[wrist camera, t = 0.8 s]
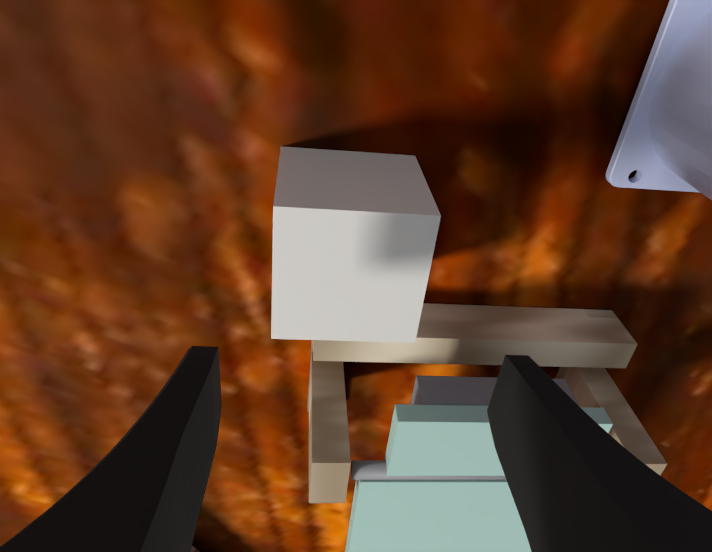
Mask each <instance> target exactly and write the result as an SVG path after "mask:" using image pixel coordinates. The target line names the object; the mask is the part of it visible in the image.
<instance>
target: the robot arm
mask: <svg viewBox="0 0 712 552" xmlns="http://www.w3.org/2000/svg"><path fill="white" fill-rule="evenodd" d="M634 170H637V173H636V174H635V176H634V177H632V178H629V179H628V176H629V175H630V173H631V172H633V171H634ZM606 179H607V181H608V182H609V183H610V184H612V185H613V186H615V187H622V188H638V189H654V190H670V191H685V192H701V193H702V194H704V195H705V196H706V197H708V198H709V199H711V200H712V0H670V1H669V4H668V6H667V9H666V12H665V15H664V17H663V20H662V23H661V25H660V28H659V31H658V33H657V36H656V39H655V41H654V44H653V47H652V50H651V52H650V55H649V58H648V60H647V63H646V66H645V68H644V71H643V74H642V77H641V79H640V82H639V85H638V87H637V90H636V93H635V95H634V98H633V101H632V104H631V106H630V109H629V112H628V114H627V117H626V120H625V122H624V125H623V128H622V131H621V133H620V136H619V139H618V141H617V144H616V147H615V149H614V152H613V155H612V158H611V160H610V163H609V166H608V168H607V171H606ZM221 407H222V406H221V387H220V368H219V350H218V347H204V346H192V347H191V348H190V349H188V351H187V352H186V354H185V356H184V357H183V359H182V361H181V362H180V364H179V365H178V367H177V368H176V370H175V371H174V373H173V374H172V376H171V377H170V379H169V380H168V381H167V383H166V384H165V386H164V387H163V388H162V390H161V391H160V392H159V394H158V395H157V396H156V398H155V399H154V400H153V402H152V403H151V404H150V406H149V407H148V408H147V409H146V411H145V412H144V413H143V414H142V416H141V417H140V418H139V419H138V420H137V422H136V423H135V424H134V425H133V426H132V427H131V429H130V430H129V431H128V432H127V433H126V434H125V436H124V437H123V438H122V439H121V440H120V441H119V442H118V443H117V445H116V446H115V447H114V448H113V449H112V450H111V451H110V452H109V453H108V454H107V455H106V456H105V457H104V458H103V459H102V460H101V461H100V462H99V463H98V464H97V465H96V466H95V467H94V468H93V469H92V470H91V471H90V472H89V473H88V474H87V475H86V476H85V477H84V478H83V479H82V480H81V481H80V482H78V483H77V484H76V485H75V486H74V487H73V488H72V489H71V490H70V491H69V492H68V493H66V494H65V495H64V496H63V497H62V498H61V499H60V500H59V501H57V502H56V503H55V504H54V505H53V506H52V507H50V508H49V509H48V510H47V511H46V512H44V513H43V514H42V515H40V516H39V517H38V518H37V519H35V520H34V521H33V522H32V523H30V524H29V525H28V526H27V527H25V528H24V529H23V530H21V531H20V532H19V533H18V534H16V535H15V536H14V537H13V538H11V539H10V540H9V541H7V542H6V543H5V544H3V545H2V546H1V547H0V552H191V548H192V543H193V538H194V534H195V529H196V525H197V521H198V517H199V513H200V509H201V505H202V501H203V498H204V494H205V490H206V486H207V482H208V478H209V474H210V470H211V466H212V462H213V457H214V453H215V449H216V445H217V437H218V430H219V423H220V415H221ZM487 414H488V418H489V423H490V428H491V433H492V437H493V441H494V446H495V449H496V452H497V455H498V458H499V461H500V463H501V466H502V469H503V472H504V475H505V477H506V480H507V483H508V486H509V488H510V491H511V494H512V497H513V499H514V502H515V505H516V507H517V510H518V513H519V516H520V518H521V521H522V524H523V527H524V529H525V532H526V536H527V539H528V542H529V545H530V548H531V552H712V511H711V510H709V509H708V508H706V507H705V506H703V505H702V504H700V503H699V502H697V501H696V500H694V499H693V498H691V497H690V496H688V495H687V494H685V493H684V492H682V491H681V490H679V489H678V488H676V487H675V486H674V485H672V484H671V483H669V482H668V481H667V480H665V479H664V478H663V477H661V476H660V475H659V474H657V473H656V472H655V471H653V470H652V469H651V468H649V467H648V466H647V465H646V464H644V463H643V462H642V461H640V460H639V459H638V458H637V457H635V456H634V455H633V454H632V453H630V452H629V451H628V450H627V449H626V448H624V447H623V446H622V445H621V444H620V443H619V442H618V441H616V440H615V439H614V438H613V437H612V436H611V435H610V434H608V433H607V432H606V431H605V430H604V429H603V428H602V427H601V426H599V425H598V424H597V423H596V422H595V421H594V420H593V419H592V418H591V417H590V416H589V415H588V414H587V413H586V412H585V411H584V410H582V409H581V408H580V407H579V406H578V405H577V404H576V403H575V402H574V401H573V400H572V399H571V398H570V397H569V396H568V395H567V394H566V393H565V392H564V391H563V390H562V389H561V388H560V387H559V386H558V385H557V384H556V383H555V382H554V381H553V380H552V379H551V378H550V377H549V376H548V375H547V374H546V373H545V372H544V370H543V369H542V368H541V367H540V366H539V365H538V364H537V363H536V362H534V361H533V360H532V359H531V358H530V357H529V356H528V355H505V357H504V360H503V363H502V366H501V369H500V372H499V375H498V378H497V381H496V385H495V388H494V391H493V394H492V397H491V400H490V403H489V406H488V409H487Z"/></svg>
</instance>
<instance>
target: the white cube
mask: <svg viewBox="0 0 712 552" xmlns="http://www.w3.org/2000/svg"><path fill="white" fill-rule="evenodd" d="M440 218H441V215H440V212H439V210H438V208H437V205H436V203H435V201H434V198H433V196H432V194H431V191H430V189H429V187H428V184H427V182H426V180H425V178H424V175H423V173H422V171H421V168H420V166H419V164H418V161H417V159H416V157H415V156H414V155H399V154H384V153H370V152H355V151H340V150H326V149H311V148H296V147H282V146H281V150H280V158H279V166H278V173H277V181H276V189H275V197H274V204H273V256H272V321H271V339H298V340H331V341H365V342H398V343H415V341H416V336H417V331H418V326H419V322H420V317H421V312H422V307H423V302H424V297H425V292H426V287H427V282H428V277H429V272H430V268H431V263H432V258H433V253H434V248H435V243H436V238H437V233H438V228H439V223H440Z"/></svg>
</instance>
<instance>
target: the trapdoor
mask: <svg viewBox="0 0 712 552" xmlns="http://www.w3.org/2000/svg"><path fill="white" fill-rule="evenodd" d="M497 378H498V377H453V376H416V380H415V384H414V389H413V394H412V398H411V403H410V405H401V404H395V408H394V413H393V418H392V423H391V428H390V434H389V439H388V444H387V449H386V454H385V461H357V460H352V462H351V479H352V480H356V484H355V490H354V497H353V503H352V510H351V516H350V523H349V530H348V536H347V543H346V549H345V552H531V548H530V545H529V542H528V539H527V536H526V532H525V529H524V527H523V524H522V521H521V518H520V516H519V513H518V510H517V507H516V505H515V502H514V499H513V497H512V494H511V491H510V488H509V486H508V483H507V480H506V477H505V475H504V472H503V469H502V466H501V463H500V461H499V458H498V455H497V452H496V449H495V446H494V441H493V437H492V433H491V428H490V423H489V418H488V414H487V409H488V406H489V403H490V400H491V397H492V394H493V391H494V388H495V385H496V381H497ZM552 380H553V381H554V382H555V383H556V384H557V385H558V386H559V387H560V388H561V389H562V390H563V391H564V392H565V393H566V394H567V395H568V396H569V397H570V398H571V399H572V400H573V401H574V402H575V403H576V404H577V405H578V406H579V404H578V402H577V401H576V399H575V397H574V395H573V393H572V391H571V390H570V388H569V386H568V384H567V382H566V380H565V379H552ZM580 408H581V409H582V410H584V411H585V412H586V413H587V414H588V415H589V416H590V417H591V418H592V419H593V420H594V421H595V422H596V423H597V424H598V425H599V426H601V427H602V428H603V429H604V430H605V431H606V432H607V433H609V431H610V429H611V427H612V425H613V423H612V421H611V420H610V418H609V416H608V415H607V413H606V411H605V410H604V408H594V407H580Z"/></svg>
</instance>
